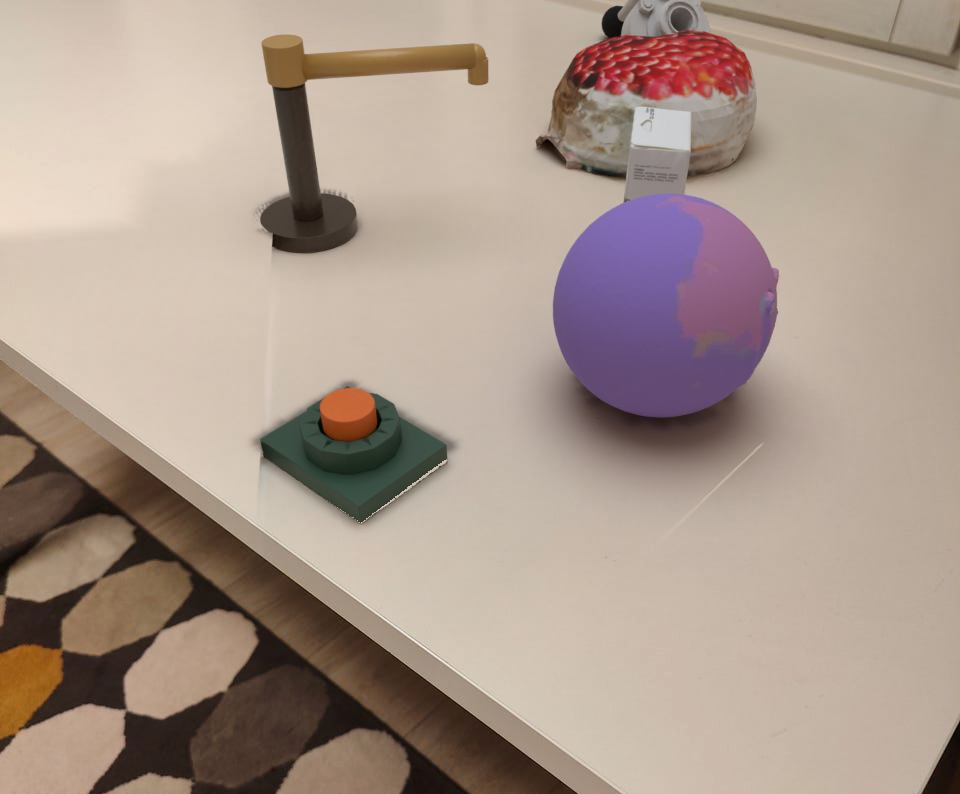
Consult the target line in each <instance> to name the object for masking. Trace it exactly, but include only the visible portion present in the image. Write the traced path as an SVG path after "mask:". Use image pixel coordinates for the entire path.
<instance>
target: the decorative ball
mask: <svg viewBox="0 0 960 794" xmlns="http://www.w3.org/2000/svg"><path fill="white" fill-rule="evenodd" d="M779 273H780V269H778V268H776V267H773V266H772V264H771V262H770V258H769V257H768V255H767V252H766V251H765V248H764V247H763V245H762V244H761V242H760V240H759V239H758V237H757V236H756V235H755V234H754V232H753V231H752V230H751V229H750V228H749V227H748V226H747V225H746V223H744V222H743V220H741V219H740V218H738V217H737V216H736V215H735V214H733V213H732V212H730V211H729V210H727V209H726V208H724V207H722V206H720V205H719V204H717V203H714V202H712V201H710V200H707V199H704V198H702V197H698V196H693V195H689V194H684V195H683V194H655V195H648V196H643V197H639V198H636V199H633V200H630V201H627V202H625V203H624V202H623V203H620V204H619V205H616V206H614V207H612V208H610V209H609V210H607V211H606V212H604V213H602V215H600V216H599V217H597V218H596V219H595V220H594V221H592V222H591V223H590V224H589V225H588V226H587V227H586V228H585V229H584V230H583V232H582V233H580V234H579V236H578V237H577V238H576V240H575V241H574V242H573V244H572V245H571V247H570V248H569V250H568V252H567V254H566V256H565V257H564V259H563V262H562V264H561V267H560V269H559V271H558V275H557V279H556V280H555V281H556V282H555V286H554V291H553V298H552V321H553V328H554V333H555V337H556V340H557V344H558V347H559V349H560V353H561V354H562V356H563V357H562V358H564V360H565V362H566V364H567V366H568V368H569V369H570V371H571V372H572V373H573V375H574V376H575V377H576V379H577V380H578V381H579V382H580V383H581V384H582V385H583V387H585V388H586V389H587V390H588V391H589V392H590V393H591V394H593V396H595V397H596V398H598V399H600V400H601V401H603V402H604V403H605V404H607V405H609V406H611V407H613V408H616V409H618V410H620V411H623V412H625V413H629V414H631V415H632V414H633V415H636V416H642V417H645V418H646V417H648V418H675V417H682V416H686V415H690V414H693V413H697V412H700V411H703V410H705V409H707V408H710V407H712V406H713V405H716V404H717V403H719V402H721V401H723V400H724V399H726V398H728V397H729V396H730V395H731V394H733V393H735V391H736V390H738V389H739V388H740V387H742V386H744V385H745V384H747V383H748V382H749V380H750V378H751V377H752V376H753V375H754V372H755V370H756V369H757V367H758V366H759V365H760V363H761V361H762V359H763V357H764V356H765V353H766V351H767V350H768V347H769V346H770V343H771V339H772V337H773V333H774V330H775V327H776V322H777V318H778V314H779V311H778V291H777V288H778V287H777V286H778V283H779V277H780V274H779Z"/></svg>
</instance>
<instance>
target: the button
mask: <svg viewBox="0 0 960 794" xmlns="http://www.w3.org/2000/svg"><path fill="white" fill-rule="evenodd" d="M344 388H345V387H344ZM369 393H370V392H368V391H366V390H364V389H361V388H356V387H355V388H354V387H350V388H345V389H343V388H340V389H337V390H333V391H332V392H330V393H328V394H327V395H326V396H324V397H323V398H324V399H323V398H322V399H323V400H322V402H321V404H320V413H321V419H322V425H323V430H324V432H325V433H326V435H327V436H329V437H330V438H332V439H334V440H337V441H344V442H350V441H355V440H360V439H363V438H366V437H367V436H369V435H370V434H371V433H372V432H373V431H374V430H375V428H376V426H377V416H376V407H375V401H374V398H373V397H372V395H371V394H369Z"/></svg>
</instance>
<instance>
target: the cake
mask: <svg viewBox="0 0 960 794" xmlns="http://www.w3.org/2000/svg"><path fill="white" fill-rule="evenodd" d="M756 86H757V85H756V81H755V76H754V73H753V68H752V65H751V63H750V60H749V59H748V57H747V55H746V53H745V52H744V51H743V50H742V49H740V48H739V47H737V46H736V45H735V44H734V43H733V42H732V41H730V40H729V39H728V38H727V37H725V36H721V35H718V34H715V33H712V32H710V33H708V32H705V31H692V30H686V31H679V32H677V33H673V34H666V35H662V36H657V37H652V36H635V35H624V36H621V37H612V38H607V39H606V38H605V39H604V40H601V41H599V42H597V43H594V44H592V45H589V46H586V47H585V48H583V49H582V50H581V51H580V50H579V52H577V53H576V55H575V56H574V57H573V58H572V60H571V61H570V64H569V66H568V67H567V69H566V70H565V72H564V73H563V75H562V77H561V79H560V81H559V82H558V84H557V86H556V88H555V89H554V93H553V96H552V101H551V111H550V112H551V114H550V115H551V116H550V122H549V125H548V129H547V130H548V133H547V134H546V135H545V134H540V135H539V136H538V137H537V138H536V139H535V145H536V148H539V147H540V146H541V145H542V144H543V143H544V142H545V141H546V140H548V141H550V142H551V143H552V144H553V146H554V147H555V148H556V149H557V150H558V152H559V153H560V154H561V155H562V156H563V157H564V158H565V160H566V163H565V168H566V169H567V168H568V169H572V168H573V169H579V170H582V171H584V172H586V173H591V174H593V175H599V176H605V177H612V178H621V179H626V175H627V167H628V158H629V150H630V142H631V134H632V127H633V120H634V113H635V108H636V107H650V108H658V109H666V110H677V111H690V112H691V153H690V159H689V166H688V173H687V178H690V177H691V178H692V177H695V176H700V175H704V174H709V173H713V172H716V171H720V170H722V169H724V168H726V167H729V166H731V165H732V164H733V163H734V162H736V161H737V159H738V158H739V155H740V154H741V152H742V150H743V148H744V146H745V143H746V142H747V140H748V139H749V136H750V134H751V132H752V130H753V126H754V125H755V120H756V114H757V107H758V106H757V105H758V104H757V103H758V97H757V88H756Z"/></svg>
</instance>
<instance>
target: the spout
mask: <svg viewBox="0 0 960 794" xmlns="http://www.w3.org/2000/svg"><path fill="white" fill-rule="evenodd" d="M304 46H305V45H304V40H303V38H302V37H301V36H299V35H296V34H276V35H271V36H268V37H266V38H264V39H263V40H262V41H261V51H262V55H263V61H264V68H265V74H266V81H267V83H268V85H270V86H271V87H272V86H274V87H280V88H288V87H295V86H299V85H302V84H304V83H305V84H306V83H307V82H308V81H311V80H312V81H313V80H326V79H327V80H328V79H343V78H344V79H345V78H356V77H359V78H360V77H373V76H387V75H400V74H401V75H403V74H418V73H431V72H432V73H433V72H445V71H446V72H447V71H449V72H450V71H461V70H463V71H464V70H467V83H468V84H469V85H472V86H484V85H487V84H488V83H489V57H488V56H487V53H486V50H485V48H484V47H483V46H482V45H481V44H479V43H475V42H473V43H458V44H442V45H441V44H440V45H425V46H410V47H394V48H380V49H377V48H376V49H364V50H363V49H361V50H350V51H346V50H345V51H332V52H330V51H329V52H317V53H315V52H314V53H306V52H305V47H304Z"/></svg>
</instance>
